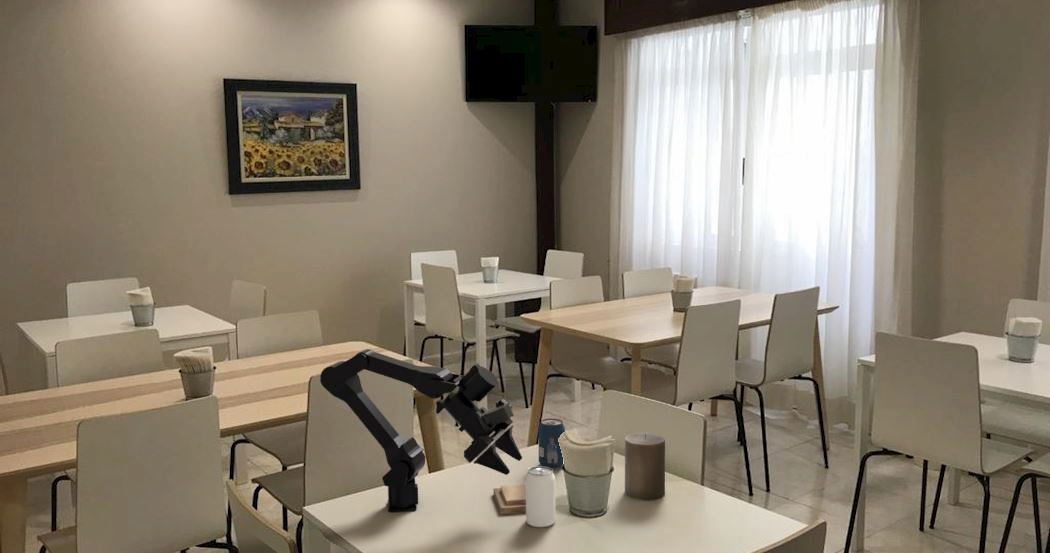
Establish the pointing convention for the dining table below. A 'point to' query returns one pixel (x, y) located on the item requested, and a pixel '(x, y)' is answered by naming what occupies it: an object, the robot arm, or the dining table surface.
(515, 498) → the plinth
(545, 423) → the soda can
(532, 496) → the can
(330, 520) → the dining table surface
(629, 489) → the pillar candle
